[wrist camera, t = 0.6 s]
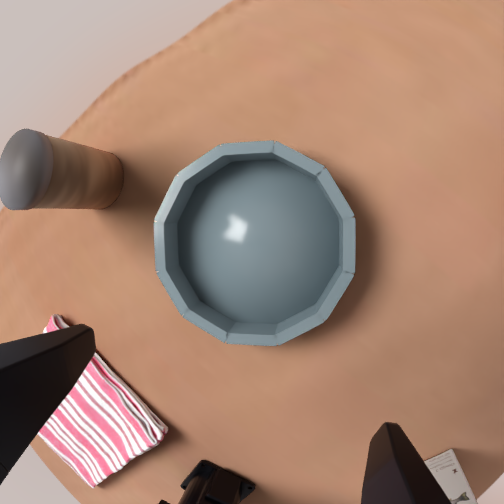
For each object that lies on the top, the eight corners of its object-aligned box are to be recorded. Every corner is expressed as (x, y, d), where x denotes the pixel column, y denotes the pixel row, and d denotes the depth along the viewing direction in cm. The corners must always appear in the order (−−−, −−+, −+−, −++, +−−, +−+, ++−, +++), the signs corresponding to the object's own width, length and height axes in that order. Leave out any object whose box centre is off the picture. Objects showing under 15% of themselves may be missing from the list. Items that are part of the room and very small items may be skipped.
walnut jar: (109, 220, 25) (23, 224, 15) (72, 195, 26) (-10, 191, 16) (134, 164, 24) (51, 142, 15) (94, 142, 25) (14, 120, 15)
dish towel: (179, 425, 27) (166, 445, 23) (98, 483, 31) (86, 496, 28) (64, 305, 28) (42, 313, 24) (19, 400, 32) (4, 409, 29)
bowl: (289, 360, 24) (286, 377, 21) (146, 273, 25) (127, 280, 22) (381, 208, 21) (392, 206, 18) (222, 123, 23) (210, 111, 20)
